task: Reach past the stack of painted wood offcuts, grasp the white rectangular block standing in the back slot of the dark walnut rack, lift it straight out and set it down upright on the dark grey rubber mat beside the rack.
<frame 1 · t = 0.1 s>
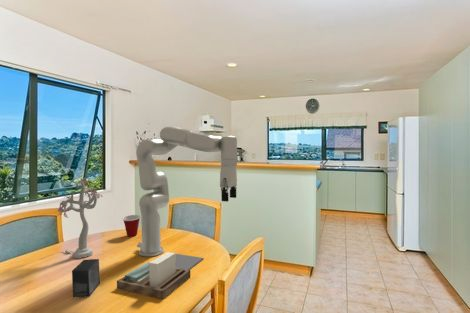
hand: (229, 199, 134), 31 cm above the table, tool pointing down, fingers open, 9 cm apart
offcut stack: (143, 280, 121), resting in walnut rack
white rectangular block: (163, 284, 117), resting in walnut rack
tree sculpture: (79, 255, 150), on the table
plastic cup: (131, 236, 181), on the table
rubber mat: (180, 262, 138), on the table
walnut rack: (155, 282, 119), on the table
small box: (86, 290, 113), on the table
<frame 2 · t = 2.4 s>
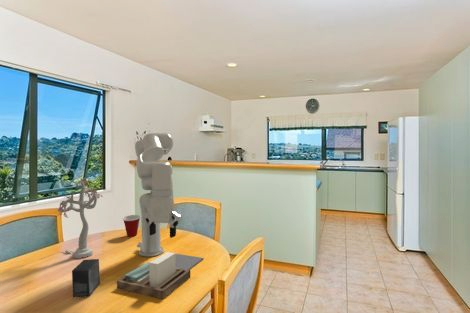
hand: (162, 235, 116), 20 cm above the table, tool pointing down, fingers open, 9 cm apart
nothing on the table moved.
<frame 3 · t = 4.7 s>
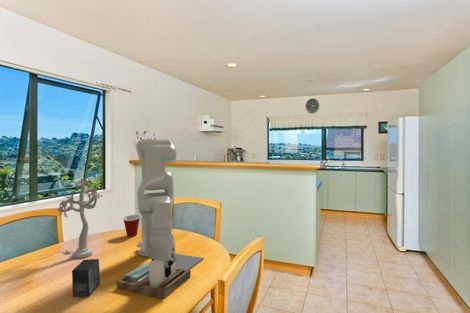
hand: (163, 274, 117), 4 cm above the table, tool pointing down, fingers closed on white rectangular block, 4 cm apart
white rectangular block: (163, 284, 117), resting in walnut rack, touching gripper
everything else where it was.
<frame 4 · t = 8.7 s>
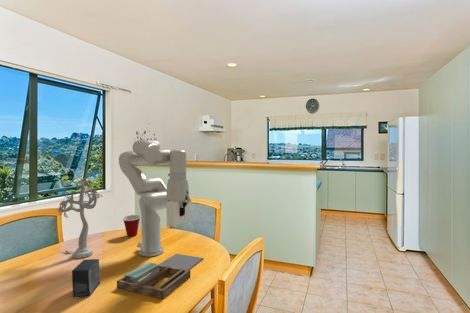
hand: (178, 214, 135), 24 cm above the table, tool pointing down, fingers closed on white rectangular block, 4 cm apart
white rectangular block: (177, 223, 135), point 20 cm above the table, touching gripper
everything else where it was.
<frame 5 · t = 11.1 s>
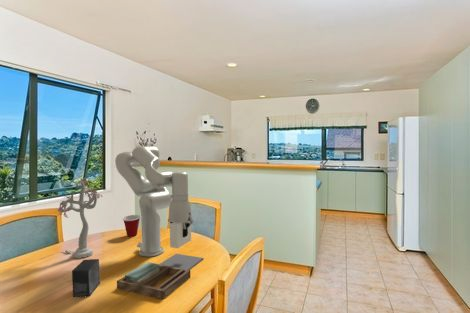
hand: (180, 235, 138), 13 cm above the table, tool pointing down, fingers closed on white rectangular block, 4 cm apart
white rectangular block: (181, 243, 138), point 9 cm above the table, touching gripper
everything else where it was.
when the fingers open (5 cm above the table, at t = 12.9 s): white rectangular block stays where it is, resting on rubber mat.
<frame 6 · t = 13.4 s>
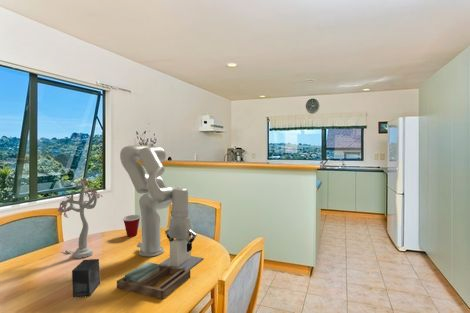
hand: (180, 249, 138), 6 cm above the table, tool pointing down, fingers open, 9 cm apart
white rectangular block: (180, 261, 139), point 1 cm above the table, touching rubber mat
everything else where it was.
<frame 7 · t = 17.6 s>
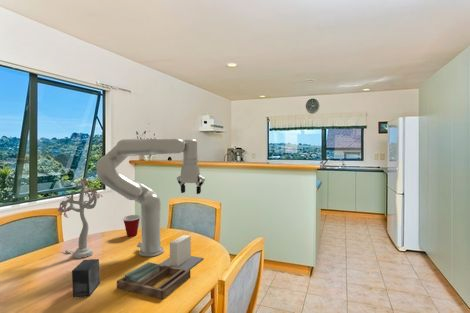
hand: (190, 193, 158), 30 cm above the table, tool pointing down, fingers open, 9 cm apart
nothing on the table moved.
at the end: white rectangular block inside the target area on the rubber mat (0.1 cm from its centre), point 0.6 cm above the rubber mat's base; white rectangular block tilted 0°; the gripper is holding nothing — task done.
